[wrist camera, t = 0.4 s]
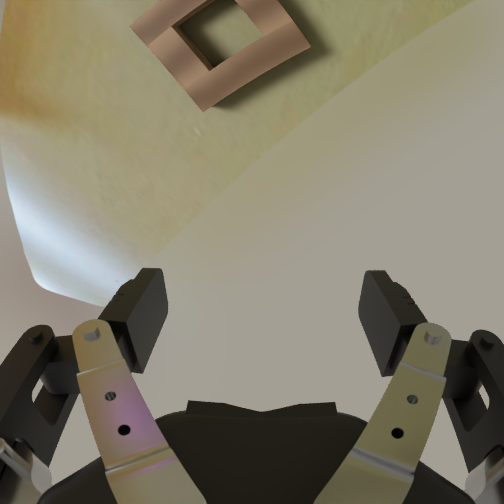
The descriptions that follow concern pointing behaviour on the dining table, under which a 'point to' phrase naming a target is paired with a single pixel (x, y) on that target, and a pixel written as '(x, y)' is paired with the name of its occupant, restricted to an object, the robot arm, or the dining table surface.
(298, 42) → the socket block
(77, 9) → the dining table surface
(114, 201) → the dining table surface
